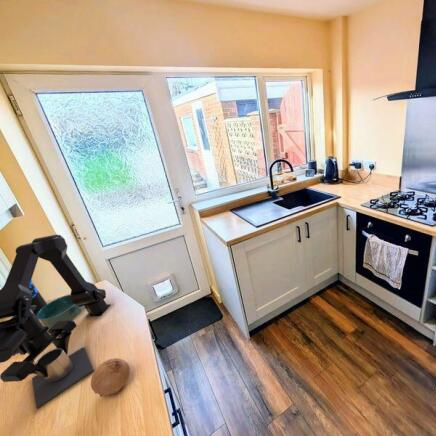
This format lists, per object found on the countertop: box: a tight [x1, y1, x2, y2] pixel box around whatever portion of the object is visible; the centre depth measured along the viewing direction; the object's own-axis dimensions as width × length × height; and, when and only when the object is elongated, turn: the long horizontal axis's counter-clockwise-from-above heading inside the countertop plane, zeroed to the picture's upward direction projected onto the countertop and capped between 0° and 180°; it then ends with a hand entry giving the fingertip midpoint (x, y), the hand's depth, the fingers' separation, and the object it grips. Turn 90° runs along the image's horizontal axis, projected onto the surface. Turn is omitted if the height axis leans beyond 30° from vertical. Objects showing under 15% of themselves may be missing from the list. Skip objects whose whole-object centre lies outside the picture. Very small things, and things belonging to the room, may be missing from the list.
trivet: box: [31, 346, 95, 410], centre depth 80 cm, size 14×14×1 cm
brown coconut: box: [90, 357, 131, 397], centre depth 73 cm, size 10×9×10 cm
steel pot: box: [35, 347, 73, 382], centre depth 78 cm, size 7×7×7 cm
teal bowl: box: [36, 294, 85, 329], centre depth 105 cm, size 14×14×6 cm
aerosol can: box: [29, 279, 48, 316], centre depth 104 cm, size 8×8×20 cm
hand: (56, 365), depth 78 cm, fingers closed on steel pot, 6 cm apart
